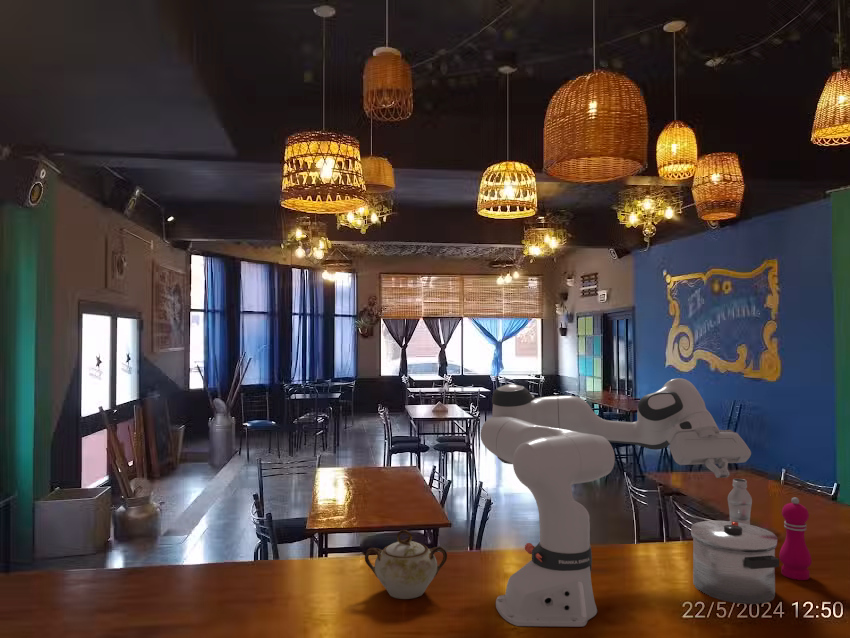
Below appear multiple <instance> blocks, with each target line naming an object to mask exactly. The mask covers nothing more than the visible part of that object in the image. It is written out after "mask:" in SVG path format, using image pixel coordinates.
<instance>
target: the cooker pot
mask: <svg viewBox="0 0 850 638" xmlns="http://www.w3.org/2000/svg"><path fill="white" fill-rule="evenodd" d="M692 539H693V540H692V543H693V544H692V546H693V548H692V550H693V551H692V552H693V553H692V557H693V558H692V560H693V561H692V562H693V565H692V566H693V567H692V574H693V575H692V579H693V580H692V583H693V586H694V585H695V586H694V587H695V588H696V589H697V590H698V591H699V590H700V591H699V592H701V591H702V592H703V594H704V593H705V594H704V595H706V594H707V595H706V596H708V595H709V596H708V597H710V598H711V597H712V598H715V599H717V600H721V601H725V602H728V603H735V604H741V603H742V604H743V605H760V603H761V604H766V603H770V602H772V601H773V600H774V599H775V597H776V568H779V567H780V558H777V557H776V548H775V549H773V550H770V551H765V552H739V551H731V550H725V549H720V548H716V547H713V546H709V545H706V544H704V543H701V542H699V541H697V540H696V539H694V538H693V537H692ZM702 592H701V593H702Z"/></svg>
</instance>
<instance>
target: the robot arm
mask: <svg viewBox="0 0 850 638" xmlns="http://www.w3.org/2000/svg"><path fill="white" fill-rule="evenodd" d="M491 403H492V414H491V415H492V416H491V417H489V418H488V419H487V420H485V422H483V424H482V427H481V429H480V440H481V443H482V445H483V446H484V447H485V448H486V449H487V450H488V451H489V452H491V454H493V455H494V456H496V457H497V459H498V460H499V461H500V462H502V463H503V464H507V465H512V467H513V472H514V474H515V476H516V477H517V480H519V482H520V483H521V484H523V485H524V486H525V487H526V488H527V489H528V490H529V491H530V492H531V494H532V496H533V497H534V500H535V502H536V506H537V510H538V519H539V520H538V521H539V542H538V543H537V545H536V546H534V545H533V544H532V543H531V542H526V544H525V545H524V550H525V551H526V552H527V553H528V554H529V555H531V560H529V561H528V562H527V563H526V564H525V565H524V566H522V567H521V568H519V569H518V570H517V571H515V572H514V573H513V574H511V575H510V577H509V578H508V579H507V583H506V589H505V594H503V595H502V594H501V595H498V596H497V597H496V599H495V608H496V611H497V612H498V614H499V615H500V616H501V618H502V619H504V620H505V621H506V622H508V623H510V624H511V625H514V626H516V627H571V628H572V627H576V628H577V627H585V626H587V623H588V621H589V620H590V619H592V618H594V617H595V616H596V615H597V613H598V609H597V605H596V602H595V598H594V597H595V596H594V592H593V586H592V577H591V571H592V568H593V567H592V564H593V562H592V561H593V555H592V551H593V550H592V546H591V543H590V532H591V531H590V523H591V522H590V517H591V516H590V513H589V511H588V510H587V508H586V507H585V506H584V505H583V504H581V503H580V502H578V501H576V500H575V498H574V495H573V491H572V487H573V486H572V485H575V484H582V483H583V484H584V483H590V482H594V481H597V480H600V479H602V478H604V477H606V476H608V475H609V474H610V473H612V471H613V469H614V466H615V462H616V461H615V460H616V459H615V458H616V457H615V455H616V454H615V450H614V449H613V447H612V444H611V443H613V444H614V443H615V444H617V443H619V444H628V445H633V446H634V445H635V446H639V447H642V448H645V449H649V450H653V451H655V450H658V451H659V450H663V449H665V448H667V447H668V446H669V450H670V453H671V456H672V458H673V461H674V462H675V463H676V464H678V465H679V466H688V465H689V466H690V465H705V467H706V468H707V469H708V470H710V472H712V473H713V474H714V476H715V478H716V479H717V478H718V479H719V478H722V479H724V478H728V477H730V475H731V473H730V471H729V469H728V465H729V464H740V463H741V464H742V463H746V462H747V461H748V460H749V459H750V457H751V455H752V451H751V449H750V448H749V446H748V445H747V443H746V442H745V441H744V439H743V438H742V437H741V436H740V434H739V433H738V432H735V431H733V430H731V429H725V430H724V429H720V428H719V427H718V425H717V423H716V421H715V419H714V417H713V415H712V414H711V413H710V411H709V410H708V409H707V407H706V403H705V400H704V399H703V397H702V396H701V394H700V392H699V390H698V389H697V388H696V386H695V384H693V383H692V382H691V381H690V380H687V379H685V378H681V377H680V378H678V377H677V378H672V379H670V380H668V381H667V382H665V384H664V385H663V386H662V387H661V388H660V389H658V390H656V391H655V392H652V393H648V394H645V395H644V396H642V397H641V398H640V399H639V401H638V403H637V410H636V411H637V415H636V416H637V420H636V421H633V422H632V421H621V420H620V421H618V420H608V419H604V418H602V417H601V416H599V415H597V414H596V413H595V412H594V410H593V408H592V407H591V406H590V405H589V403H588V402H587V401H585V400H584V399H583V398H582V397H580V396H574V395H550V396H549V395H548V396H541V397H535V395H533V394H532V393H531V392H530V391H529V390H528V388H526V387H525V386H523V385H518V384H514V383H508V384H505V385H501V386H499V387H497V388H496V389H495V390H493V393H492V397H491ZM716 464H718V466H717V465H716ZM719 467H721V468H719Z"/></svg>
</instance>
